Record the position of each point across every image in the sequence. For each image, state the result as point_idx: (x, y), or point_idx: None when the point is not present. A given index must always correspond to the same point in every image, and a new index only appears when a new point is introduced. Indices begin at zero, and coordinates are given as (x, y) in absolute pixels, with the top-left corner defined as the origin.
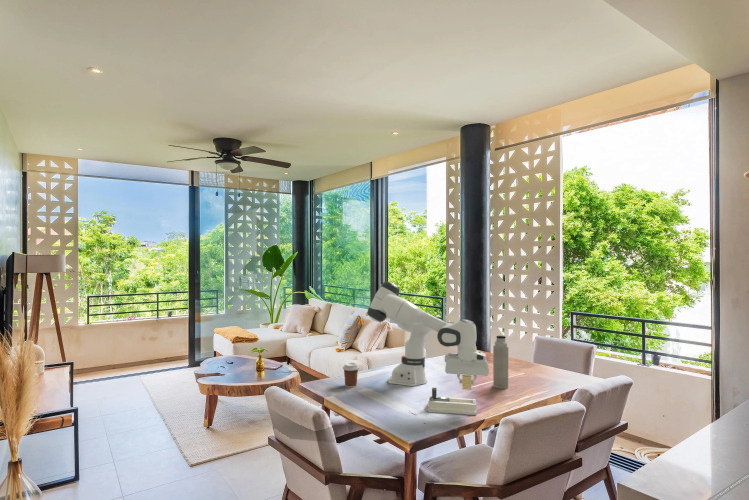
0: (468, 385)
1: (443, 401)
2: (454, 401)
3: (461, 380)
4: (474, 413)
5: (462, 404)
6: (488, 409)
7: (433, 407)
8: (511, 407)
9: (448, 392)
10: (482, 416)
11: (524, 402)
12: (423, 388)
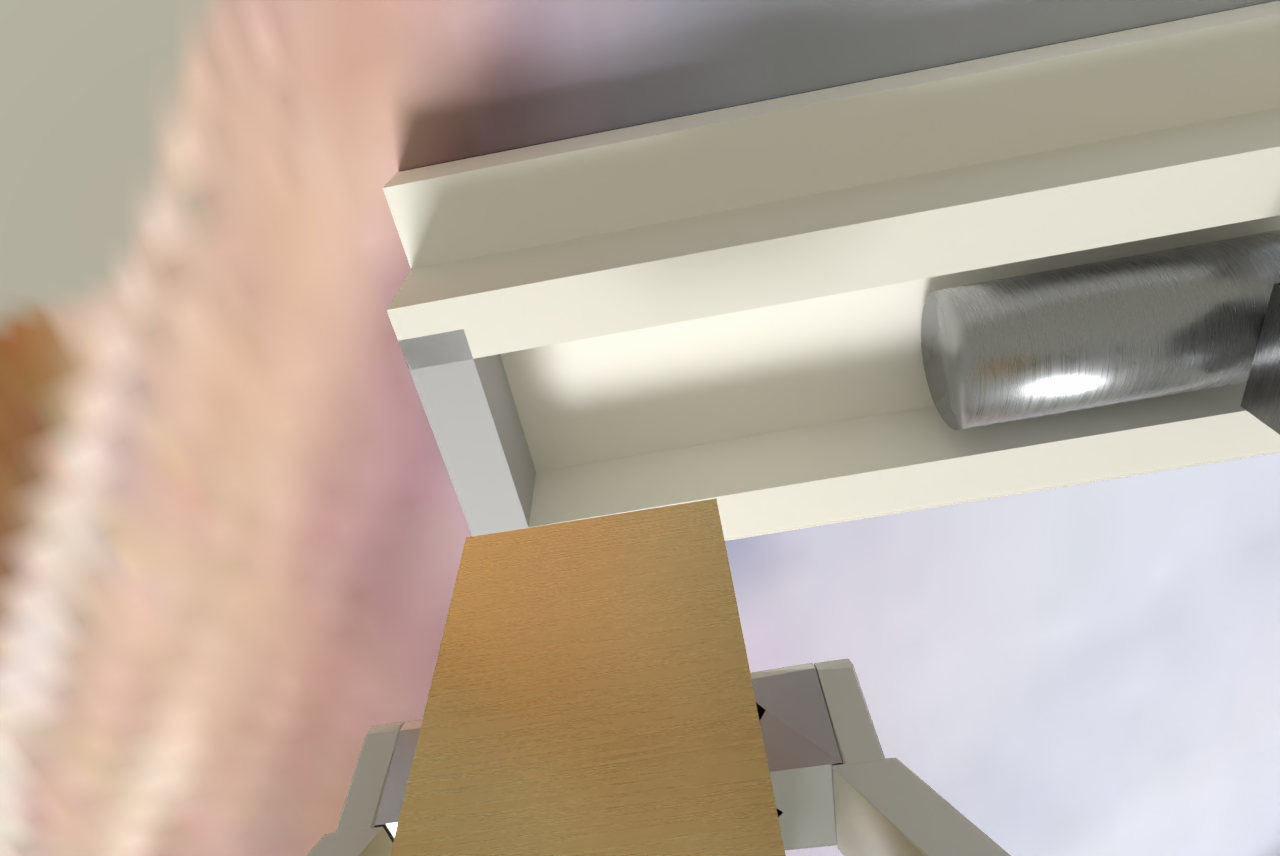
0: (532, 614)
1: (1074, 282)
2: (842, 446)
3: (801, 756)
4: (427, 169)
5: (670, 251)
6: (310, 486)
7: (1240, 104)
8: (68, 647)
9: None
10: (279, 145)
11: (23, 814)
12: (1212, 823)
